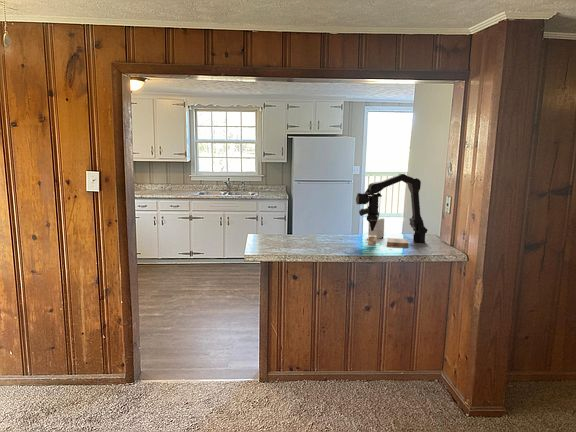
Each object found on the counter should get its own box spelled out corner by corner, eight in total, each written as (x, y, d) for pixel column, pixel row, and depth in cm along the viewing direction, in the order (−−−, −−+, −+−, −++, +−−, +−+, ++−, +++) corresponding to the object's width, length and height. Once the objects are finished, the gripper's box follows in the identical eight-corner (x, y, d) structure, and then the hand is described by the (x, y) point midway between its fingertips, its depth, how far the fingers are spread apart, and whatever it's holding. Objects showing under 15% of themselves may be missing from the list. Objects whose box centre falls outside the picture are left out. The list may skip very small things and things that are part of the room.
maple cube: (376, 242, 255) (376, 235, 255) (375, 244, 251) (375, 237, 250) (368, 242, 256) (368, 235, 256) (368, 243, 252) (368, 236, 251)
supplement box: (375, 235, 277) (375, 217, 275) (384, 237, 271) (384, 218, 269) (367, 237, 272) (368, 218, 270) (376, 238, 266) (377, 219, 264)
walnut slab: (407, 243, 254) (407, 239, 253) (407, 248, 242) (408, 243, 242) (387, 242, 257) (387, 238, 257) (386, 247, 246) (387, 242, 245)
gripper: (361, 201, 261) (360, 226, 263) (358, 205, 243) (357, 231, 246) (379, 202, 258) (378, 227, 260) (377, 206, 240) (376, 232, 243)
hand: (372, 229), depth 252 cm, fingers open, 9 cm apart
